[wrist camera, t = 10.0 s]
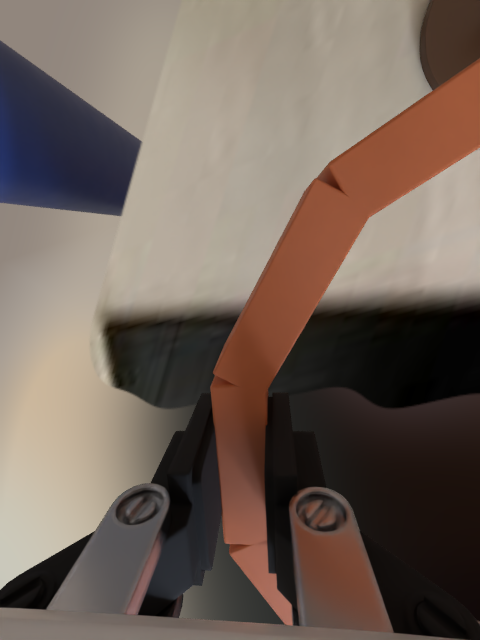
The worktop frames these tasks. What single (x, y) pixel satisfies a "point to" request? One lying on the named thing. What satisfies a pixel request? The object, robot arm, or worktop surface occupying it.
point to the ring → (318, 293)
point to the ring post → (449, 39)
